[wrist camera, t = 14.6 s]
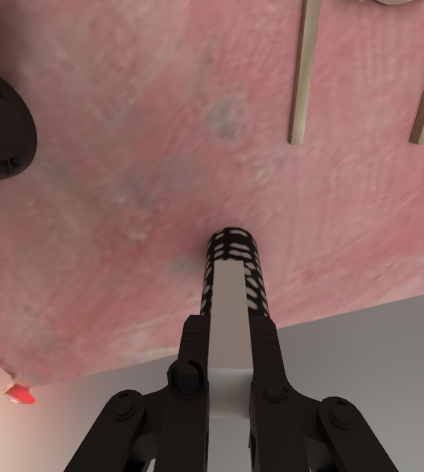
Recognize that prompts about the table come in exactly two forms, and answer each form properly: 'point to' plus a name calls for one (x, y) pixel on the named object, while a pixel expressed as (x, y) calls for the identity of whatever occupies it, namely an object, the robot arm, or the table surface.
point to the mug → (392, 1)
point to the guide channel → (306, 50)
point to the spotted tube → (235, 249)
